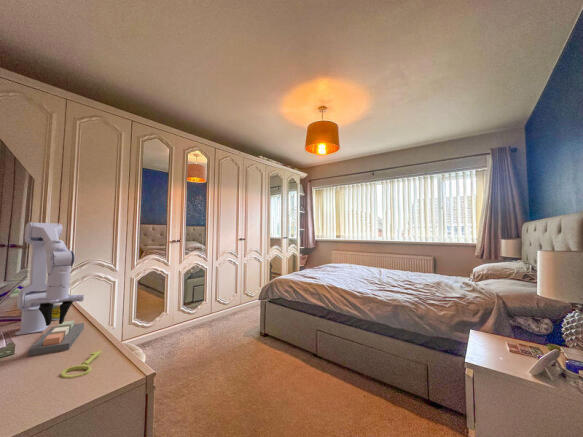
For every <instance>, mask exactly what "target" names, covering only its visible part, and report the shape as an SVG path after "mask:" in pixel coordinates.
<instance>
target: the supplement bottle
mask: <svg viewBox="0 0 583 437" xmlns="http://www.w3.org/2000/svg"><path fill="white" fill-rule="evenodd" d="M61 304H62V303H54V304H53V309H52V321H59V319H60V305H61Z"/></svg>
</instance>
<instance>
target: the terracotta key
mask: <svg viewBox="0 0 583 437" xmlns="http://www.w3.org/2000/svg"><path fill="white" fill-rule="evenodd" d="M62 340H63V333H59V334H52V335H48V336H47V337H46V338H45V339H44V342H43V346H46V345H53V344H59V343H61V341H62Z"/></svg>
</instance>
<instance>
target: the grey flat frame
mask: <svg viewBox="0 0 583 437" xmlns="http://www.w3.org/2000/svg"><path fill="white" fill-rule="evenodd" d="M57 326H58V325H57ZM57 326H51V327H50V328H49V329H48V330H47V331H46V332H45V333H44V334H43V335H42V336H41V337H40V338H39V339H38V340H37V341H36V342H35V343H34V344H33V345H31V347H29V349H28V352H27V353H28V354H27V357H34V356H39V355H45V354H51V353H57V352H65V351H70V349H71V347H72V346H73V344H74V343H75V342H76V340H77V339H78V338H79V336H80V334H81V333H82V332H83V330H84V329H85V322H81V323H74V327H73V328H72V329H70V330H69V333H68V334H67V335H66V336H63V340H62V341H61V343H59V344H53V345H46V346H43V342H44V339H45V338H46V337H47V336H48V335H51V332H52V331H53V330H54V329H55V328H57Z"/></svg>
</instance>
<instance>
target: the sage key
mask: <svg viewBox="0 0 583 437" xmlns="http://www.w3.org/2000/svg"><path fill="white" fill-rule="evenodd" d="M74 324H75V320H69V321H68V320H67V321H66V320H65V321H64V322H63V323H62V324H59V323H58V325H57V328H60V327H67V326H69V330H70V329H72V328H73V327H74Z"/></svg>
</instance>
